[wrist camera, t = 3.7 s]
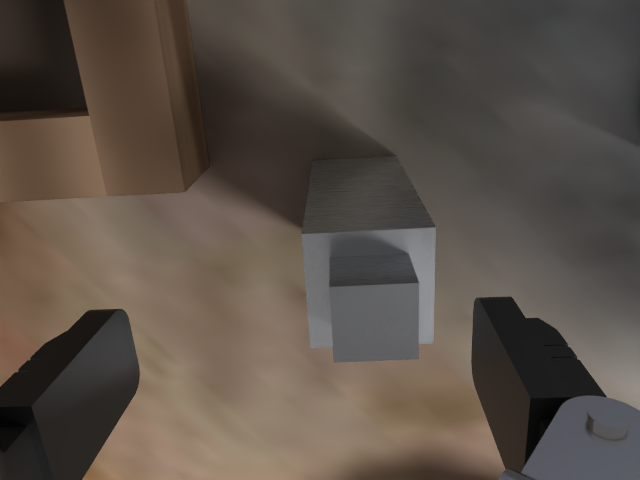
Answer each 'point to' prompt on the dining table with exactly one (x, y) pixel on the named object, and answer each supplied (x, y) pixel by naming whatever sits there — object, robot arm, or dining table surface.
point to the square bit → (367, 260)
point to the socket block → (98, 99)
